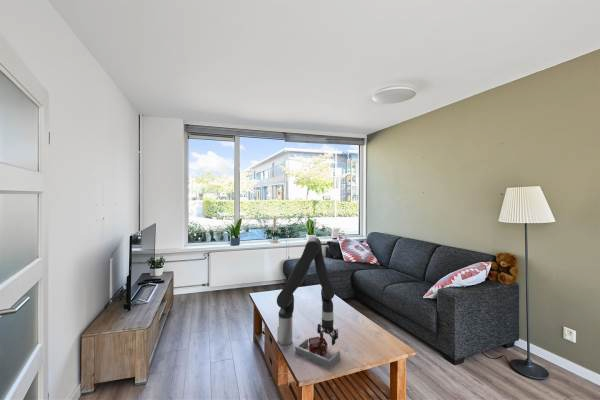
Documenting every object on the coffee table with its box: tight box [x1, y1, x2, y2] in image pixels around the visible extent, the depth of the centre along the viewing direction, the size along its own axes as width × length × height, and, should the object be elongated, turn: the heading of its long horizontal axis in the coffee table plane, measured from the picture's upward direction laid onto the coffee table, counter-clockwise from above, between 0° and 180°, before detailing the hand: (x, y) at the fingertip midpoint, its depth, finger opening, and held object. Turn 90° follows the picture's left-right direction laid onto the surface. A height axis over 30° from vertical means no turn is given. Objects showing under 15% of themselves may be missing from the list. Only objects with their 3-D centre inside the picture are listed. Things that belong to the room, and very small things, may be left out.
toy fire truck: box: [308, 335, 328, 357], centre depth 170 cm, size 7×12×10 cm, turn 110°
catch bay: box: [294, 338, 341, 369], centre depth 167 cm, size 25×12×4 cm, turn 53°
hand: (327, 342), depth 176 cm, fingers open, 8 cm apart
